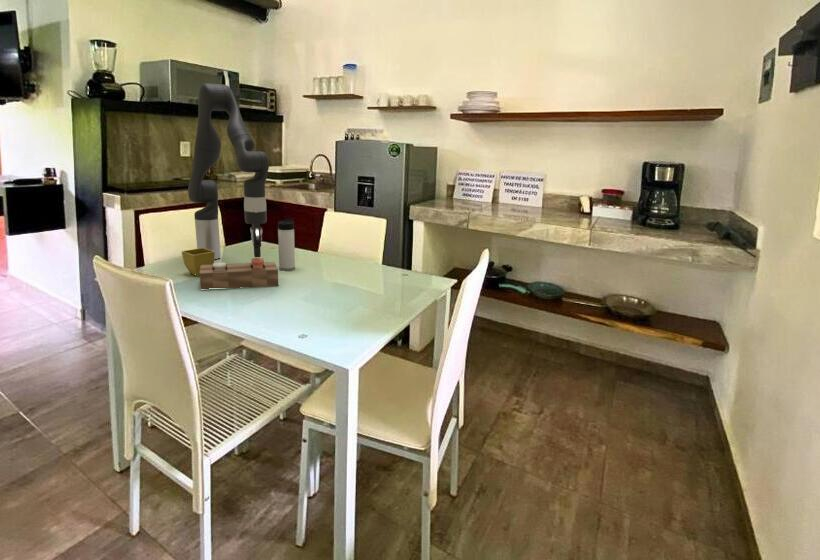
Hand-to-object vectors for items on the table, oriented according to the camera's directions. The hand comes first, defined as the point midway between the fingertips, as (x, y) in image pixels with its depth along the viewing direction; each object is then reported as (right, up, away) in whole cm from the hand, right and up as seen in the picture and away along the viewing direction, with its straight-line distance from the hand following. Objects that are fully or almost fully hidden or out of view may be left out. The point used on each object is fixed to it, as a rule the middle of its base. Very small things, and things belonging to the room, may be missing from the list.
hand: (257, 256), depth 176 cm
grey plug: (-13, -10, -2) cm, 16 cm away
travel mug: (+5, -4, +22) cm, 23 cm away
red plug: (0, -8, +2) cm, 8 cm away
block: (-6, -10, 0) cm, 12 cm away
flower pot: (-25, -6, +10) cm, 28 cm away
